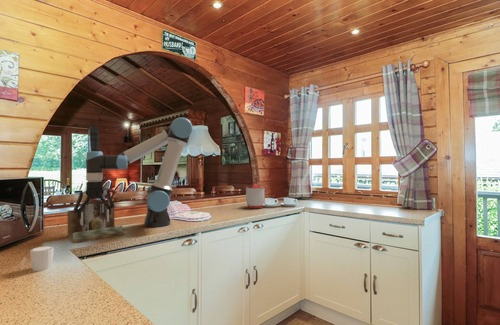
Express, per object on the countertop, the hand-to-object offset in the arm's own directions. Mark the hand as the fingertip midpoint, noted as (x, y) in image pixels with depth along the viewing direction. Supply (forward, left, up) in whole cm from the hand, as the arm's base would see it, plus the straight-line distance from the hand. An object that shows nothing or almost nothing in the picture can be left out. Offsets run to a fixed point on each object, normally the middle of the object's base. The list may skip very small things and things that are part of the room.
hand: (94, 223), depth 144 cm
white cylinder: (+26, +38, -6) cm, 46 cm away
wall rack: (0, +2, -6) cm, 6 cm away
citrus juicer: (-119, -4, -6) cm, 119 cm away
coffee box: (0, 0, -5) cm, 5 cm away
